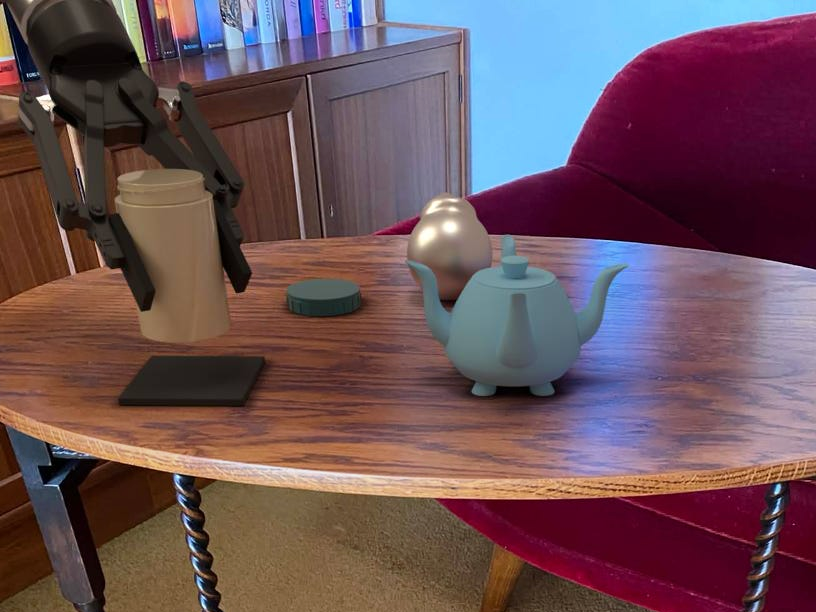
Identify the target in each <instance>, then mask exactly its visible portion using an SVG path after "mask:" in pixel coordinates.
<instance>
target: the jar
mask: <svg viewBox="0 0 816 612" xmlns="http://www.w3.org/2000/svg"><path fill="white" fill-rule="evenodd" d="M204 180H205V178H203V175H202V173H200V172H197V171H193V170H186V169H165V168H154V169H152V168H151V169H144V170H143V169H142V170H136V171H131V172H126V173H123V174H120V175H119V176H118V177H117V184H118V185H117V186H116V188H117V189H116V190H117V191H119V195H117V196H116V197H115V198H114V205H115V209H116V213H119V214H120V216H121V218H122V220H123V222H124V225H125V227H126V229H127V231H128V233H129V235H130V237H131V239H132V241H133V244H134V246H135V248H136V250H137V252H138V254H139V256H140V258H141V260H142V263H143V265H144V267H145V269H146V271H147V273H148V275H149V277H150V279H151V282H152V284H153V286H154V288H155V290H156V292H155V295H154V299H153V303H152V306H151V310H149V311H144V312H141V311H140V309H139V307H138V305H137V302H136V300H135V298H134V297H133V300H134V306H135V310H136V314H137V319H138V325H139V329H140V333H141V336H143V337H144V338H145V339H148V340H151V341H154V342H160V343H169V344H184V343H185V344H187V343H197V342H201V341H207V340H211V339H214V338H217V337H219V336H223V335H224V334H227V332H228V331H230V329H231V328H232V319H231V313H230V305H229V297H228V292H227V291H228V290H227V284H226V278H225V277H226V276H225V270H224V268H223V263H222V256H221V249H220V242H219V235H218V228H217V221H216V214H215V207H214V201H213V195H212V193H210V192H208V191H206V190H205V185H204Z"/></svg>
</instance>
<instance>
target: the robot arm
mask: <svg viewBox="0 0 816 612" xmlns="http://www.w3.org/2000/svg"><path fill="white" fill-rule="evenodd" d="M4 3H6V5H7V7H8V9H9V11H10V13H11V15H12V18H13V20H14V22H15V24H16V26H17V29H18V30H19V32H20V34H21V37H22V39H23V41H24V43H25V44H26V45H27V48H28V49H27V50H28V52H29V54H30V56H31V59H32V60H33V63H34V65H35V67H36V69H37V71H38V73H39V75H40V77H41V79H42V82H43V83H44V87H45V88H46V89H47V91H48V93H47V94H44V95H40V96H35V95H34V93H32V92H29V91H22V92H20V93H19V94H18V109H17V110H18V111H17V113H18V114H17V121H18V124H19V125H20V127H21V128H22V129H23V131H24V132H25V134H26V135H27V137H28V138H29V139H30V140H31V142H32V144H33V146H34V149H35V153H36V155H37V158H38V162H39V165H40V168H41V171H42V175H43V178H44V180H45V184H46V187H47V190H48V193H49V196H50V200H51V203H52V206H53V209H54V213H55V215H56V219H57V222H58V225H59V227H60V228H61V229H62V230H63V231H66V232H73V231H75V230H76V229H77V230H78V229H79V230H83V231H85V232H84V233H85V236H86V238H87V239H88V240H89V241H92V242H94V243H95V244H96V245H95V246H97V249H98V251H99V253H100V255H101V257H102V259H103V262H104V264H105V265H106V266H107V267H108V268H109V269H110V270H111V271H113V270H118V269H120V270H121V273H122V275H123V277H124V279H125V281H126V283H127V285H128V288H129V290H130V292H131V294H132V297H133V299H134V298H135V300H136V302H137V305H138V307H139V309H140V311H141V312H144V311H149V310H151V306H152V303H153V299H154V295H155V292H156V290H155V288H154V286H153V284H152V282H151V279H150V277H149V275H148V273H147V271H146V269H145V267H144V265H143V263H142V260H141V258H140V256H139V254H138V252H137V250H136V248H135V246H134V244H133V241H132V239H131V237H130V235H129V233H128V231H127V229H126V227H125V225H124V222H123V220H122V218H121V216H120V214H119V213H117V212H116V213H110V214H107V189H106V167H105V165H106V164H105V161H106V160H105V148H110V147H114V146H117V145H120V144H126V145H137V147H139V148H140V149H141V150H142V152H144V153H145V155H147V156H149V157H150V156H152V157H153V158H154V159H155V160H156V161H157V162H158V163H159V164H160V165H161V166H162V167H163V169H186V170H193V171H197V172H200V173H202V175H203V178H205V180H204V185H205V190H206V191H208V192H210V193H212V195H213V201H214V207H215V214H216V221H217V228H218V235H219V242H220V249H221V256H222V263H223V270H224V273H225V274H226V276H227V278H228V280H229V282H230V284H231V286H232V289H233V291H234V292H235V294H236V295H237V294H241V293H245V292H246V289H247V288H248V284H249V282H250V280H251V277H252V275H253V271H252V269H251V267H250V265H249V263H248V261H247V258H246V256H245V254H244V252H243V250H242V248H241V245H242V243H243V240H244V232H243V229H242V227H241V225H240V223H239V221H238V219H237V217H236V214H235V213H234V211H233V209H235V208H237V206H238V204H239V201H240V199H241V197H242V195H243V191H244V187H245V182H244V179H243V177H241V175H240V173H239V171H238V170H237V168H236V167H235V165H234V164H233V162H232V160H231V159H230V157H229V156H228V154H227V152H226V151H225V149H224V148H223V146H222V144H221V143H220V141H219V140H218V138H217V136H216V135H215V133H214V131H213V130H212V128H211V126H210V125H209V124H208V122H207V121H206V119H205V117H204V116H203V114H202V113H201V111H200V109H199V108H198V105H197V101H196V97H195V93H194V87H193V86H192V85H191V84H190V83H189V82H187V81H180V82H177V86H176V88H170V87H162V86H158V85H157V83H156V82H155V81H154V79H152V78H151V77H150V76H149V75H148V74H147V73H146V72H145V71H144V69H143V67H142V63H141V61H140V58H139V54H138V52H137V50H136V48H135V46H134V43H133V42H132V39H131V38H130V37H131V36H130V35H129V33H128V31H127V29H126V27H125V25H124V23H123V21H122V18H121V17H120V15H119V14H118V13H117V12H118V11H117V8H116V6H115V4H114V1H113V0H0V6H1V5H3V4H4ZM157 107H161V108H162V109H164V110H165V112H166V114H167V116H168V119H169V121H170V122H172V123H175V124H176V127H177V130H178V132H179V133H180V136H181V137H182V139H183V140H184V142H185V143H186V145H187V146H185V144H184V143H183V142H182V141H181V140H180V139H179V138H178V136H176V135H175V133H174V132H172V130H171V129H170V128H169V126H168V123H167V120H166V118H165V117H164V116H163V115H162V114H161V113H160V112H159V111H158V109H157ZM55 116H56V117H57V118H59V119H60V120H61V121H63V122H64V123H65V124H67V125H69V126H70V127H71V128H73V129H74V130H76V131H77V132H78V133H80V134H81V135H82V136H81V137H82V139H81V141H82V158H83V173H84V174H83V175H84V177H83V178H84V203H83V202H79V201H78V198H77V195H76V192H75V188H74V184H73V182H72V179H71V175H70V173H69V169H68V166H67V163H66V160H65V157H64V154H63V150H62V147H61V144H60V141H59V138H58V135H57V131H56V128H55ZM187 147H188V148H187ZM135 300H134V301H135Z"/></svg>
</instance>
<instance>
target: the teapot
mask: <svg viewBox="0 0 816 612" xmlns="http://www.w3.org/2000/svg"><path fill="white" fill-rule="evenodd" d="M515 241H516V240H515V238H514V237H513V236H512V235H511V234H504V235H503V236H502V238H501V255H500V256H501V257H500V259H499V260H500V262H499V263H500V264H499V266H491V268H486V269H483V270H480V271H478V272H476V273H475V274H474V275H473V276H472V278H471V279H470V280H469V282H468V283H467V285H466V286H465V288H464V290H463V291H462V293H461V295H460V296H459V298H458V300H455V303H454V305H453V308H452V310H451V312H448V311H447V310H446V309H445V308H444V306H443V305H442V303H441V299H439V295H438V286H437V280H436V277H435V275H434V273H433V272H432V270H431V269H430V268H428V267H427V266H425V265H423V264H420V263H417V262H414V261H410V260H407V259H404V262H405V263H406V264H407V266H408V265H409V266H410V267H411V268H412V269H413V270H414V271H415V272H416V273H417V275H418V277H419V278H420V281H421V284H422V288H423V289H422V288H421V289H422V294H423V311H424V319H425V323H426V326H427V328H428V331H429V333H430V334H431V335H432V337H433V338H434V340H436V341H437V342H438V343H440V344H441V345H442V346H443V347H444V352H445V355H446V357H447V359H448V360H449V361H450V363H451V364H452V365H453V366H454V367H455V369H456V370H457V371H458V372H459V373H460V374H461V375H462V376H463V377H465V378H467V379H470V380H472V381H474V385H473V387H472V389H471V394H473V395H476V396H479V397H488V396H489V397H490V396H492V395H495V394H496V392H497V388H498V387H497V386H499V387H528V388H529V391H530V393H531V394H532V395H535V396H541V397H546V396H551V395H554V393H555V389H554V387H553V385H552V383H551V382H553V381H555V380H558V379H560V378H561V377H562V376H564V375H565V373H567V372H568V371H569V370H570V369H571V368H572V367H573V365H574V364H575V363H576V362H577V361H578V359H579V357H580V354H581V351H582V350H581V349H582V346H583V345H585V344H586V343H588V342H589V341H590V340H591V339H592V338H593V337H594V336H596V334H597V333H598V331H599V329H600V327H601V324H602V322H603V318H604V314H605V310H606V309H605V308H606V303H607V297H608V293H609V290H610V287H611V285H612V282H613V281H614V280H615V278H616V277H617V276H618V274H620V273H621V272H622V271H623V270H625V269H626V268H627V267H629V263H619V264H614V265H611V266H608V267H607V266H606V267H605V268H604V269H602V270H601V271H600V272H599V273H598V275H597V276H596V278H595V280H594V283H593V286H592V290H591V293H590V298H589V300H588V302H587V304H586V305H585V307H583V308H582V309H581V310H580V311H578V312H577V313H576V312H575V309H574V307H573V305H572V303H571V301H570V299H569V297H568V295H567V293H566V291H565V289H564V287H563V286H562V284H561V283H560V281H559V279H558V278H557V277H556V276H555V274H554V273H552V272H551V271H549V270H546V269H543V268H538V267H533V266H529V263H530V258H528V257H526V256H524V255H523V256H522V255H517V249H516V248H517V247H516V242H515ZM409 266H408V267H409Z"/></svg>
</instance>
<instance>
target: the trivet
mask: <svg viewBox="0 0 816 612" xmlns="http://www.w3.org/2000/svg"><path fill="white" fill-rule="evenodd" d="M265 357H266V356H261V355H259V356H258V355H240V356H239V355H151V356H150V357H149V358H148V360H147V361H146V362H145V363H144V365H143V366H142V367H141V368H140V370H139V371H138V372H137V373H136V375H135V376H133V379H131V381H130V382H129V384H128V385H127V386H126V387H125V389H124V390H123V392H121V393H120V395H119V396H118V397H117V402H118V405H119V406H191V407H192V406H193V407H194V406H197V407H198V406H199V407H201V406H202V407H203V406H207V407H210V406H211V407H213V406H214V407H215V406H216V407H220V406H222V407H243V406H244V405H245V404H246V402H247V399H248V398H249V395H250V394H251V391H252V389H253V388H254V385H255V383H256V381H257V379H258V378H259V376H260V373H262V370H263V368H264V366H265V364H266V358H265Z"/></svg>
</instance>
